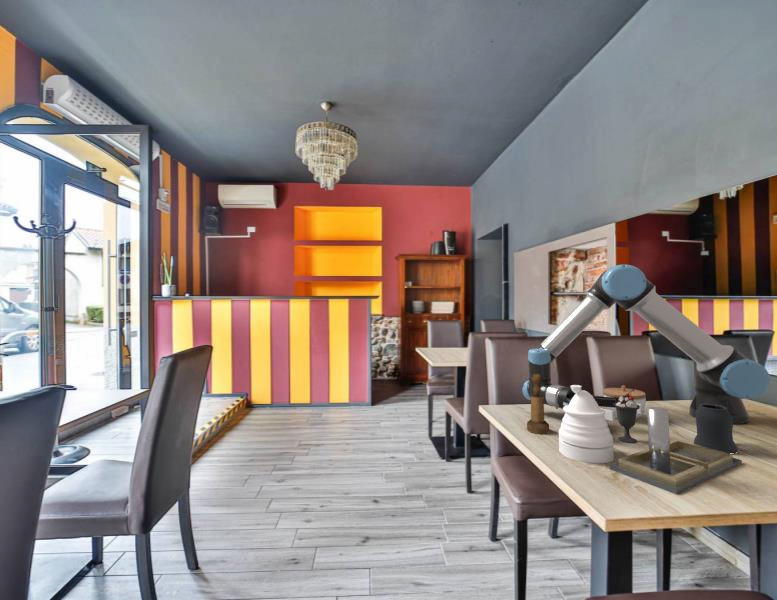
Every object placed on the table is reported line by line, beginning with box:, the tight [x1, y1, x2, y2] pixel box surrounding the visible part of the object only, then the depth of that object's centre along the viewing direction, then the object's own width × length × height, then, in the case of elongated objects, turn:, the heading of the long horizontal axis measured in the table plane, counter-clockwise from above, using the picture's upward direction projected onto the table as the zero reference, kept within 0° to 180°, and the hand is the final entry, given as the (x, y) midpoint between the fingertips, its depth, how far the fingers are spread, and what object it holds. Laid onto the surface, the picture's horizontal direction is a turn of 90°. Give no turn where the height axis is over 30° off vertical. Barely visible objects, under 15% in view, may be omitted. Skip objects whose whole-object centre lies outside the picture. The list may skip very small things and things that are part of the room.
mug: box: [692, 404, 739, 453], centre depth 101 cm, size 12×9×11 cm
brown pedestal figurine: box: [526, 374, 550, 435], centre depth 118 cm, size 7×6×18 cm
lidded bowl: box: [602, 385, 647, 420], centre depth 129 cm, size 13×13×11 cm
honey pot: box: [558, 384, 615, 464], centre depth 99 cm, size 13×13×18 cm
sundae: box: [613, 388, 640, 444], centre depth 107 cm, size 7×7×15 cm
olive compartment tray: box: [609, 406, 743, 495], centre depth 90 cm, size 30×14×15 cm, turn 117°
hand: (627, 412), depth 107 cm, fingers open, 13 cm apart
